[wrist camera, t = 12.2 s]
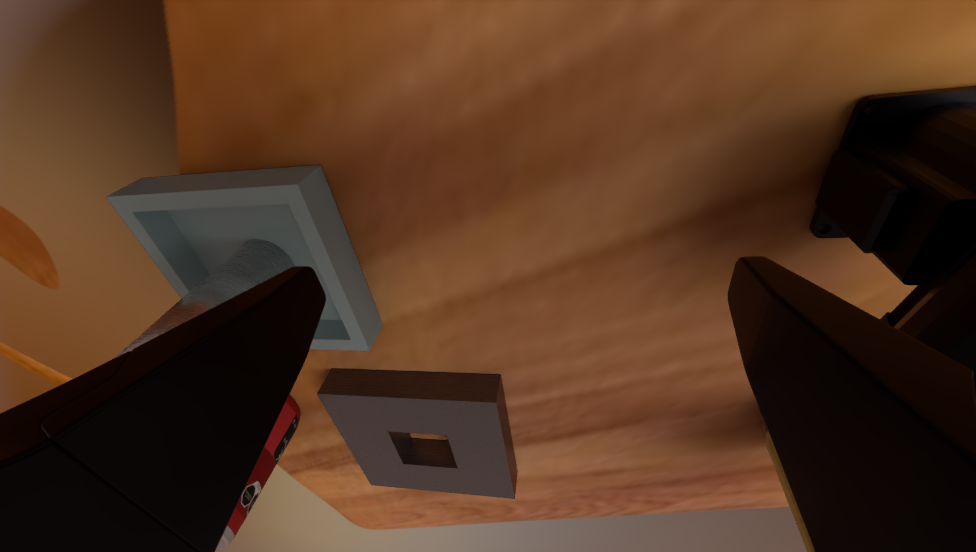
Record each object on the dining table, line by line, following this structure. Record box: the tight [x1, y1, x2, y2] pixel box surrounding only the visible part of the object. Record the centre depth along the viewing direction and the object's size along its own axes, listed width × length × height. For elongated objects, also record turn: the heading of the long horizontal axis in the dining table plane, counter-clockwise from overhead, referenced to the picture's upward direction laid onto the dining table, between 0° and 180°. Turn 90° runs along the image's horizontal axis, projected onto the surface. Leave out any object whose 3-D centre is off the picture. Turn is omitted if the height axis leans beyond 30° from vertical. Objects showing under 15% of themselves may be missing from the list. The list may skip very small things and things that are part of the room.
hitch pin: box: [115, 239, 295, 358], centre depth 21 cm, size 5×5×14 cm
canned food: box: [216, 395, 300, 550], centre depth 34 cm, size 8×8×11 cm
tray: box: [106, 165, 383, 351], centre depth 26 cm, size 12×12×2 cm
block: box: [317, 369, 518, 499], centre depth 36 cm, size 14×14×2 cm
